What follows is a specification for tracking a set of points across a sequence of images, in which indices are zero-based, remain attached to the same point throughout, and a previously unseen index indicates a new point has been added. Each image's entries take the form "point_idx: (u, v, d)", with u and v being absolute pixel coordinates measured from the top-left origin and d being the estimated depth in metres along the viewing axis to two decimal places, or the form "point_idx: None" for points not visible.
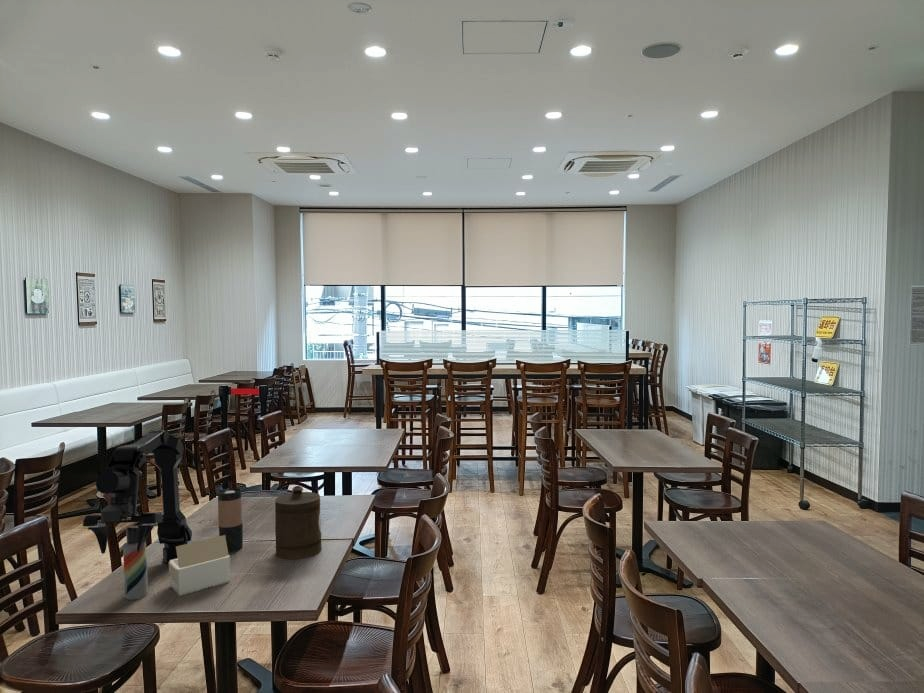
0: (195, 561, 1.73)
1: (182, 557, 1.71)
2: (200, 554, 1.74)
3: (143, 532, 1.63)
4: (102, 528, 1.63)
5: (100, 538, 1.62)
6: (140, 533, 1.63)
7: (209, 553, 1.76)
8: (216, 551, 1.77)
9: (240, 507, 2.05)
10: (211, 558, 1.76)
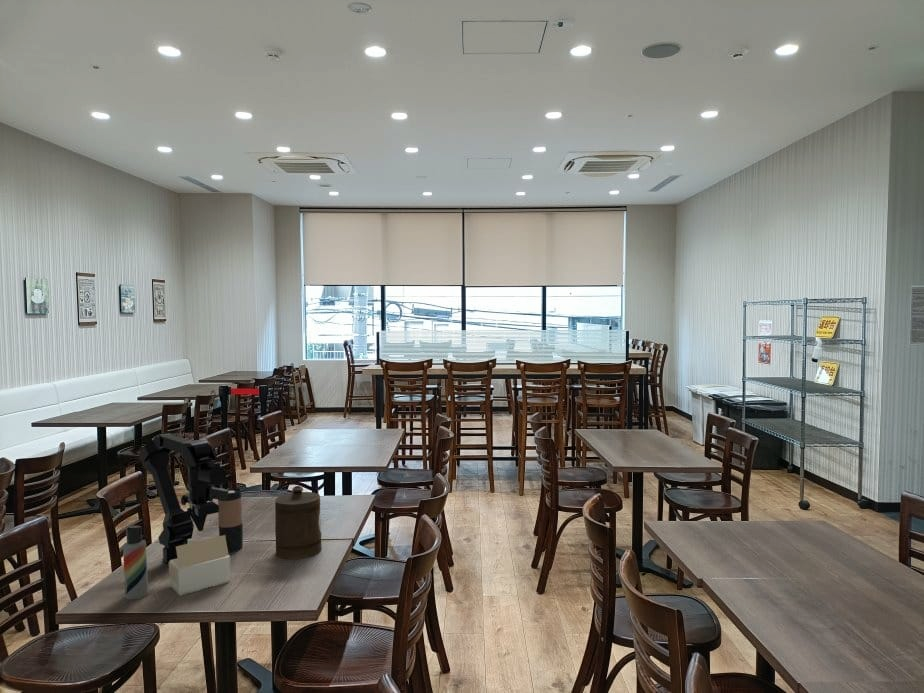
0: (195, 561, 1.73)
1: (182, 557, 1.71)
2: (200, 554, 1.74)
3: None
4: None
5: None
6: None
7: (209, 553, 1.76)
8: (216, 551, 1.77)
9: (240, 507, 2.05)
10: (211, 558, 1.76)
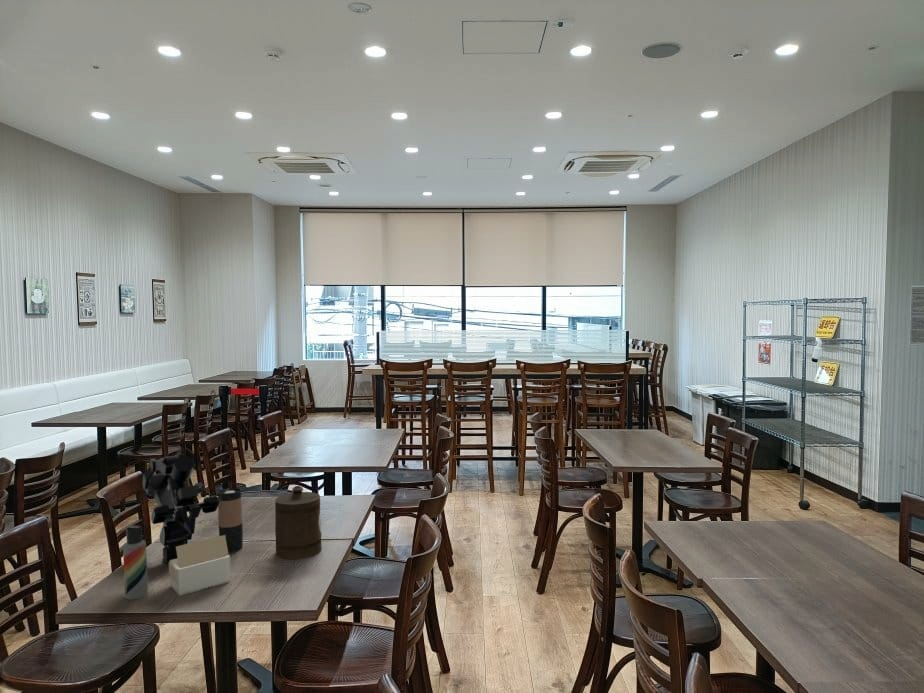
0: (195, 561, 1.73)
1: (182, 557, 1.71)
2: (200, 554, 1.74)
3: (195, 515, 1.85)
4: None
5: (188, 520, 1.83)
6: (192, 516, 1.85)
7: (209, 553, 1.76)
8: (216, 551, 1.77)
9: (240, 507, 2.05)
10: (211, 558, 1.76)
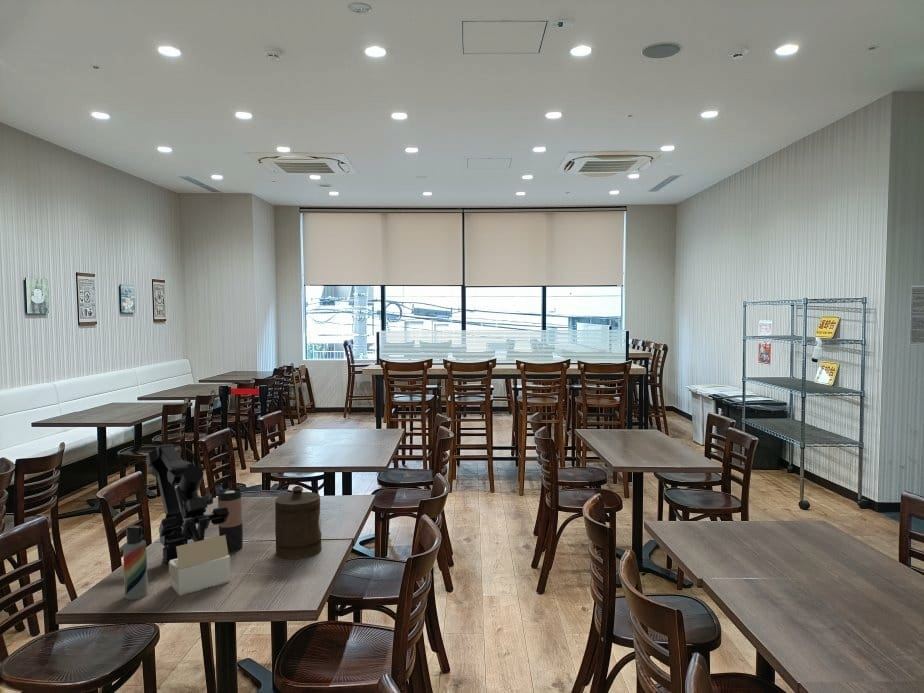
0: (195, 561, 1.73)
1: (182, 557, 1.71)
2: (200, 555, 1.74)
3: (204, 527, 1.79)
4: None
5: (197, 532, 1.77)
6: (201, 528, 1.78)
7: (209, 553, 1.76)
8: (216, 551, 1.77)
9: (240, 507, 2.05)
10: (211, 558, 1.76)
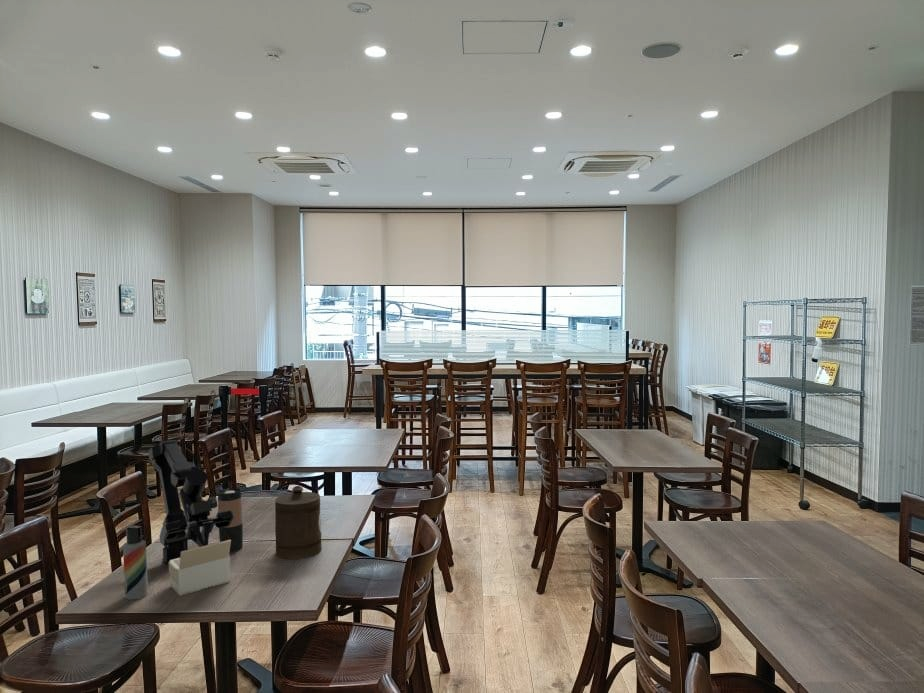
0: (196, 563, 1.73)
1: (184, 561, 1.70)
2: (202, 558, 1.73)
3: (208, 530, 1.76)
4: None
5: (201, 536, 1.74)
6: (205, 532, 1.75)
7: (211, 557, 1.75)
8: (218, 554, 1.76)
9: (240, 507, 2.05)
10: (211, 560, 1.75)
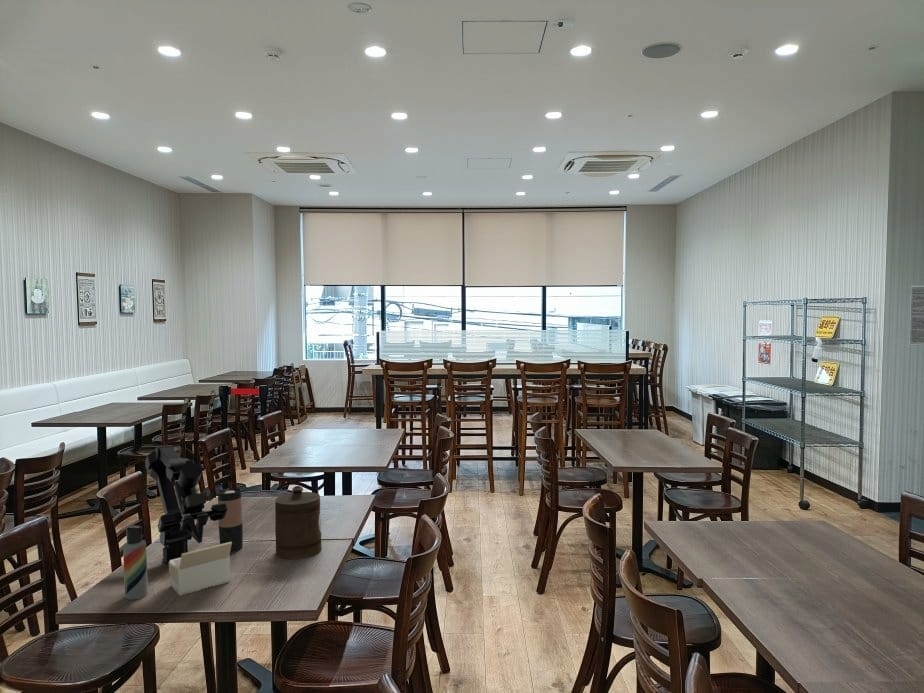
0: (196, 564, 1.73)
1: (185, 562, 1.70)
2: (202, 559, 1.73)
3: (203, 523, 1.80)
4: None
5: (195, 528, 1.78)
6: (200, 524, 1.79)
7: (211, 557, 1.75)
8: (219, 555, 1.76)
9: (240, 507, 2.05)
10: (211, 560, 1.75)
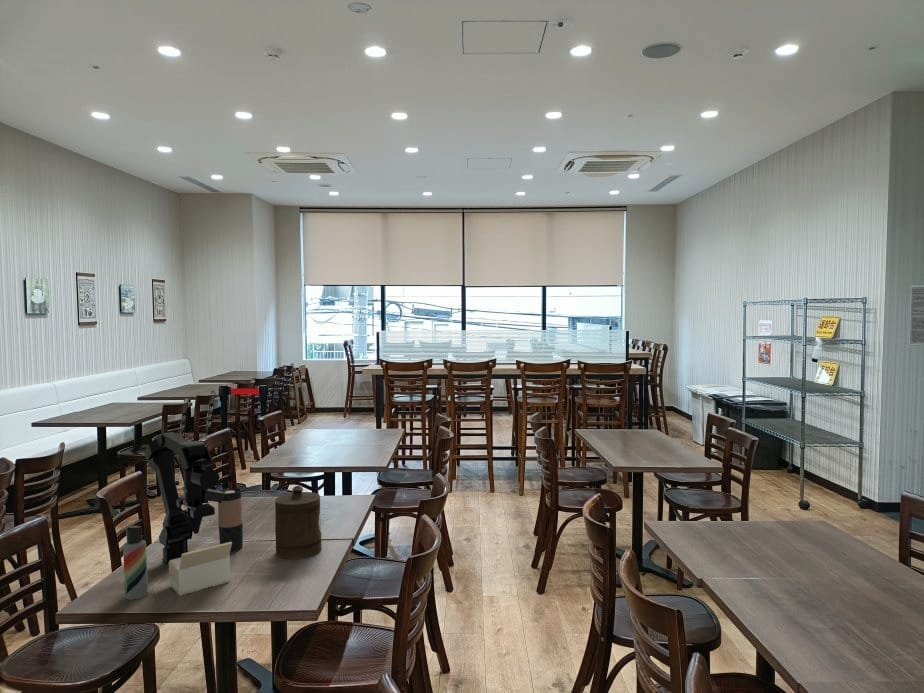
0: (196, 564, 1.73)
1: (185, 562, 1.70)
2: (202, 559, 1.73)
3: None
4: None
5: None
6: None
7: (211, 557, 1.75)
8: (219, 555, 1.76)
9: (240, 507, 2.05)
10: (211, 560, 1.75)
